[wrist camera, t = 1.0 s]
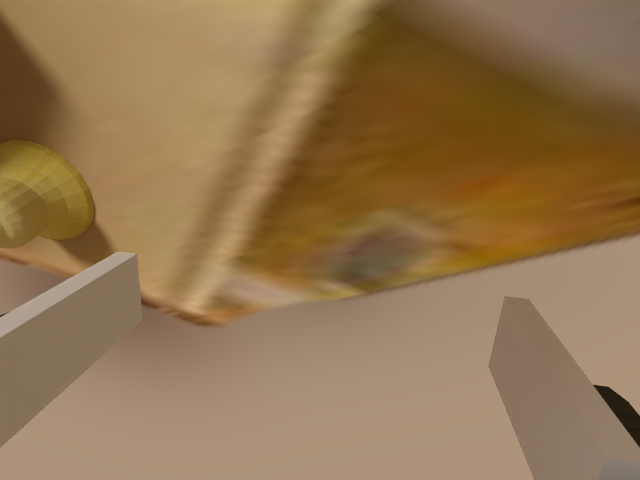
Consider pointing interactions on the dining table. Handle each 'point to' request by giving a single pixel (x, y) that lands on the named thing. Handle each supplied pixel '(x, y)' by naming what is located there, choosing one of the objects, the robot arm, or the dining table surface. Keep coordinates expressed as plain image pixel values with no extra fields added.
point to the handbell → (40, 195)
